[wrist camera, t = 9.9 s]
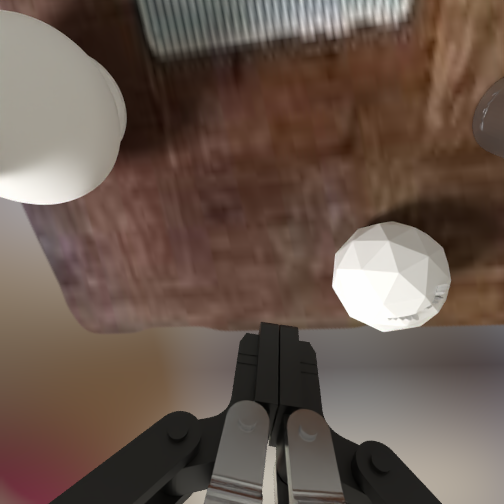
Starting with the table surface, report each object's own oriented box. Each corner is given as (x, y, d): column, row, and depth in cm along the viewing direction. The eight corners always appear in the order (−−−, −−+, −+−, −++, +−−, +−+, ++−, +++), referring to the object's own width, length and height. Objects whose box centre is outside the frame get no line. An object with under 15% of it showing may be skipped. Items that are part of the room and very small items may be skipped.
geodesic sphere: (430, 176, 36) (393, 280, 30) (497, 256, 40) (476, 362, 34) (334, 214, 49) (294, 292, 43) (392, 272, 53) (363, 351, 47)
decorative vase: (160, 58, 38) (-2, 54, 16) (134, 195, 47) (7, 309, 25) (3, -7, 36) (-419, -112, 14) (7, 148, 45) (-250, 229, 23)
